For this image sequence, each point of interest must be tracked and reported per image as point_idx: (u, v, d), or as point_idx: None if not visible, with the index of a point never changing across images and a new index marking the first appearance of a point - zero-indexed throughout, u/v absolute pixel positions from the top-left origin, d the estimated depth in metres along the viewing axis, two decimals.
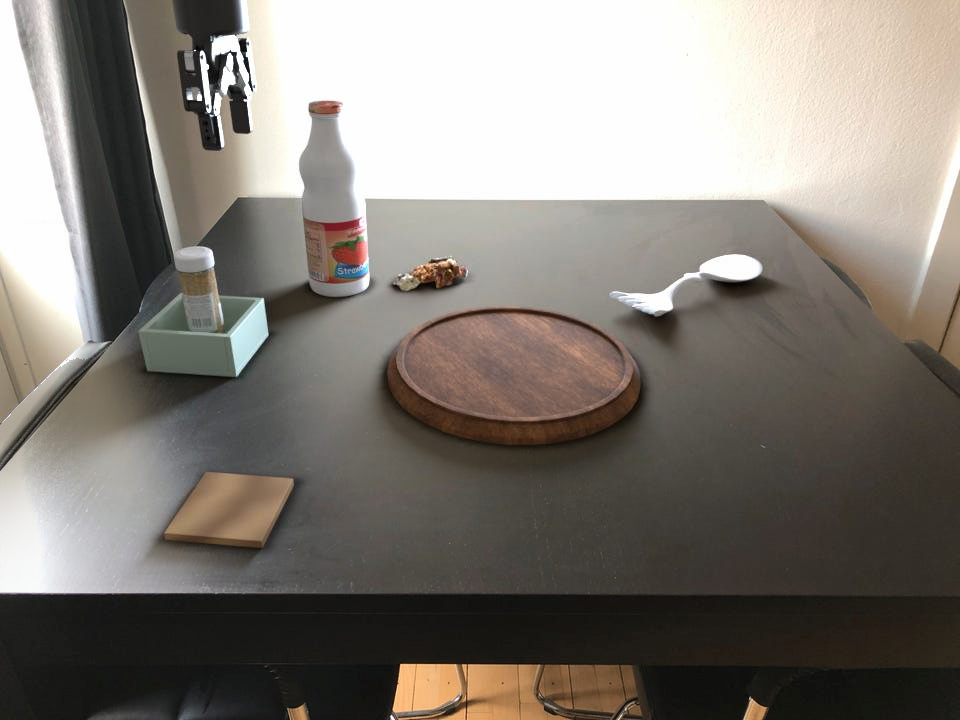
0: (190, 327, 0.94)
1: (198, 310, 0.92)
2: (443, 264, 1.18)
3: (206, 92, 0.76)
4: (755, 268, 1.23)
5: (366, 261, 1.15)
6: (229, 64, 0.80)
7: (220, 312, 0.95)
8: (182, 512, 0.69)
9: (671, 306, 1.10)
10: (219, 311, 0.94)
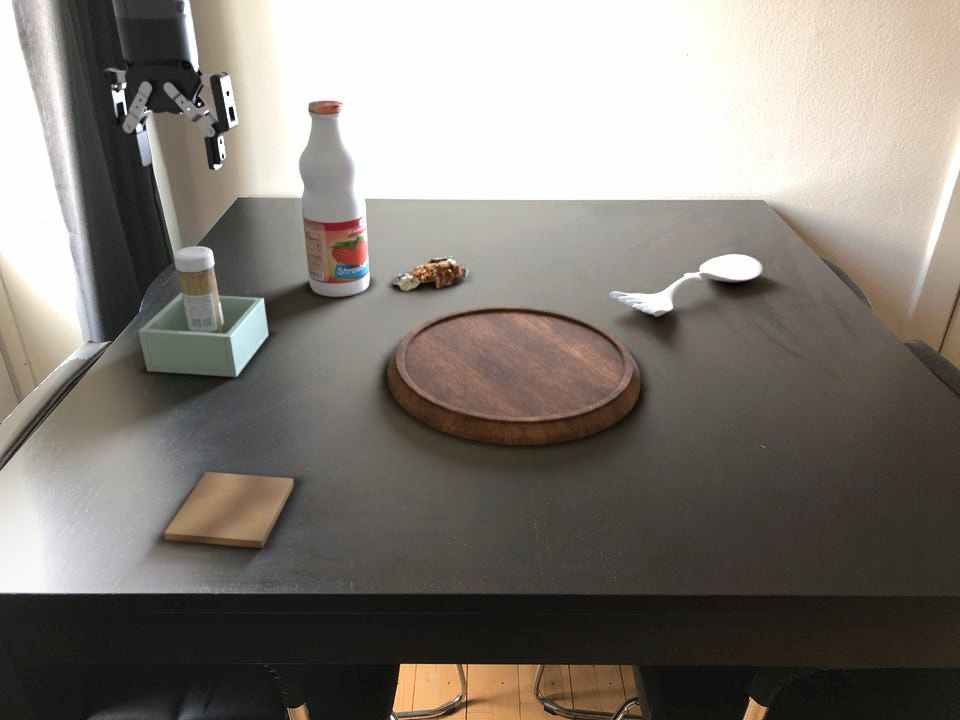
0: (190, 327, 0.94)
1: (198, 310, 0.92)
2: (443, 264, 1.18)
3: (108, 108, 0.82)
4: (755, 268, 1.23)
5: (366, 261, 1.15)
6: (143, 91, 0.80)
7: (220, 312, 0.95)
8: (182, 512, 0.69)
9: (671, 306, 1.10)
10: (219, 311, 0.94)
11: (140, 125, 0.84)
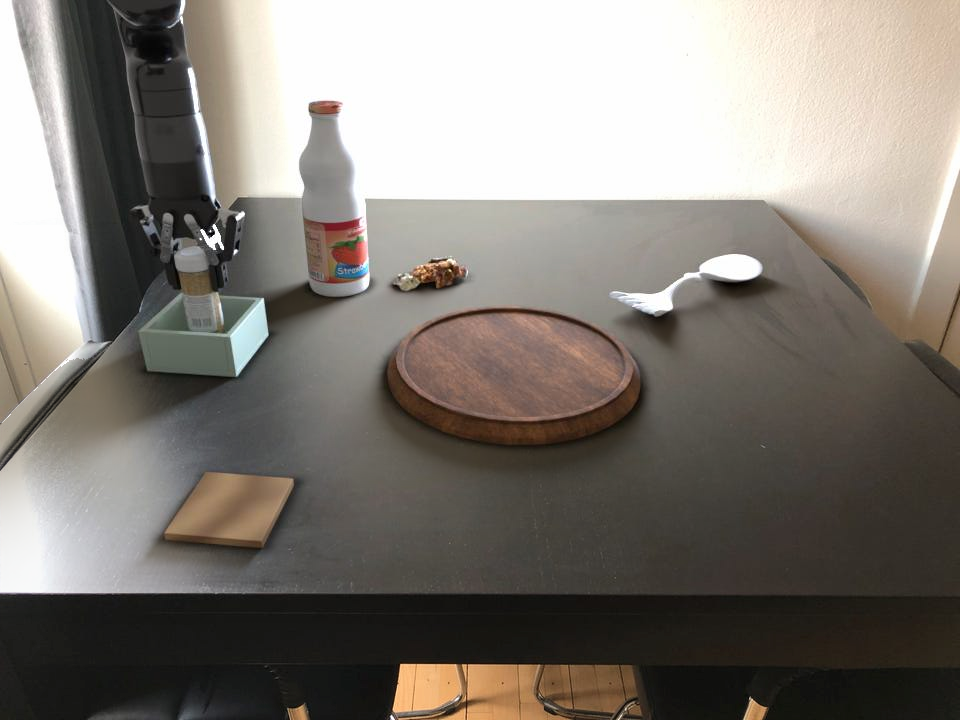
0: (190, 327, 0.94)
1: (198, 310, 0.92)
2: (443, 264, 1.18)
3: (144, 242, 0.89)
4: (755, 268, 1.23)
5: (366, 261, 1.15)
6: (165, 220, 0.87)
7: (220, 312, 0.95)
8: (182, 512, 0.69)
9: (671, 306, 1.10)
10: (219, 311, 0.94)
11: None
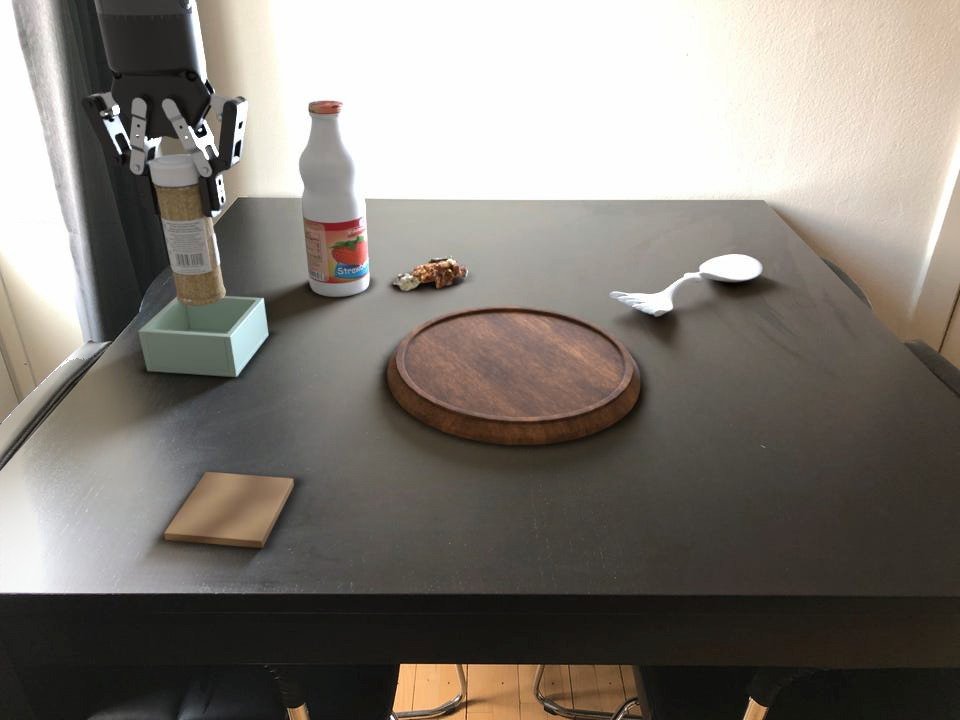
0: (174, 267, 0.68)
1: (184, 242, 0.67)
2: (443, 264, 1.18)
3: (106, 144, 0.64)
4: (755, 268, 1.23)
5: (366, 261, 1.15)
6: (136, 110, 0.61)
7: (215, 247, 0.69)
8: (182, 512, 0.69)
9: (671, 306, 1.10)
10: (214, 245, 0.69)
11: None
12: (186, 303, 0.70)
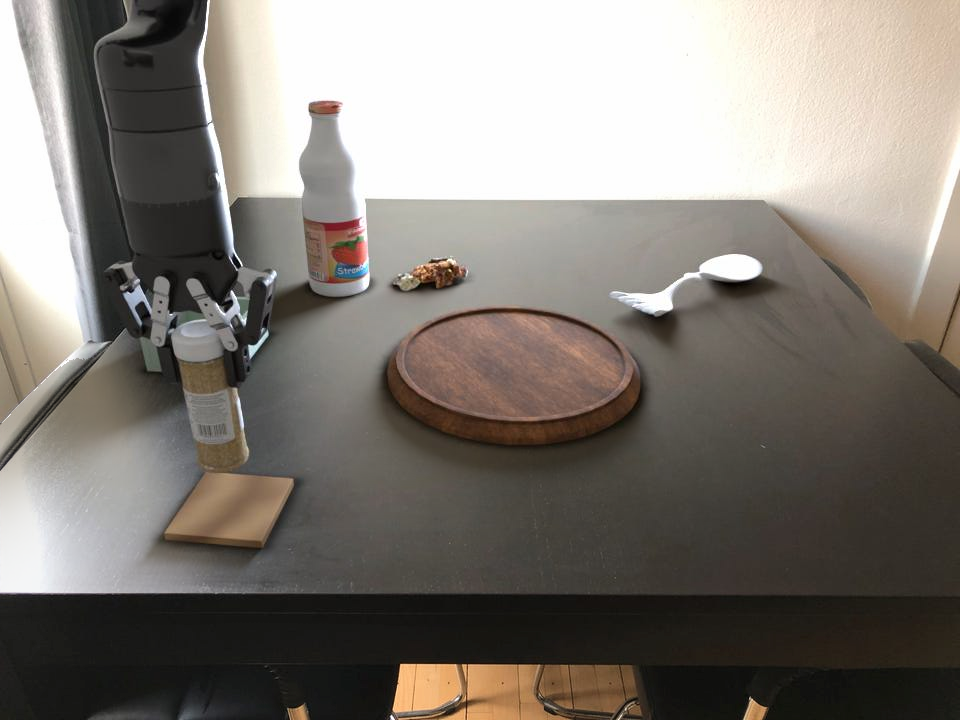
0: (195, 436, 0.64)
1: (207, 413, 0.63)
2: (443, 264, 1.18)
3: (126, 317, 0.60)
4: (755, 268, 1.23)
5: (366, 261, 1.15)
6: (158, 288, 0.57)
7: (239, 413, 0.65)
8: (182, 512, 0.69)
9: (671, 306, 1.10)
10: (238, 412, 0.65)
11: None
12: (207, 470, 0.66)
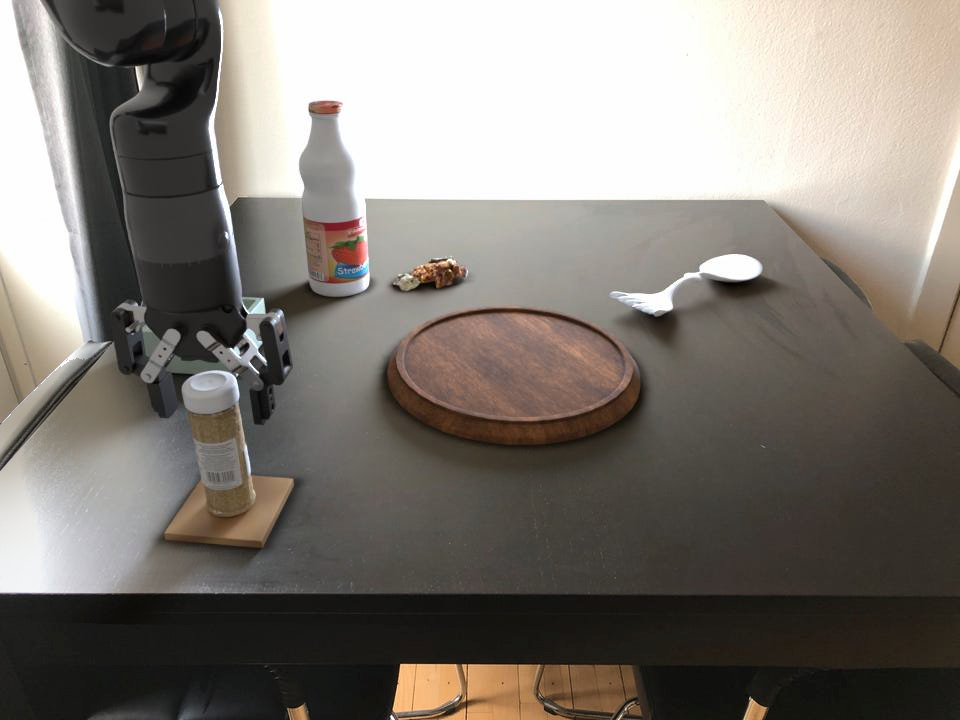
0: (204, 482, 0.67)
1: (215, 461, 0.65)
2: (443, 264, 1.18)
3: (121, 354, 0.61)
4: (755, 268, 1.23)
5: (366, 261, 1.15)
6: (169, 339, 0.59)
7: (246, 459, 0.67)
8: (182, 512, 0.69)
9: (671, 306, 1.10)
10: (245, 459, 0.67)
11: (163, 368, 0.64)
12: (216, 514, 0.68)
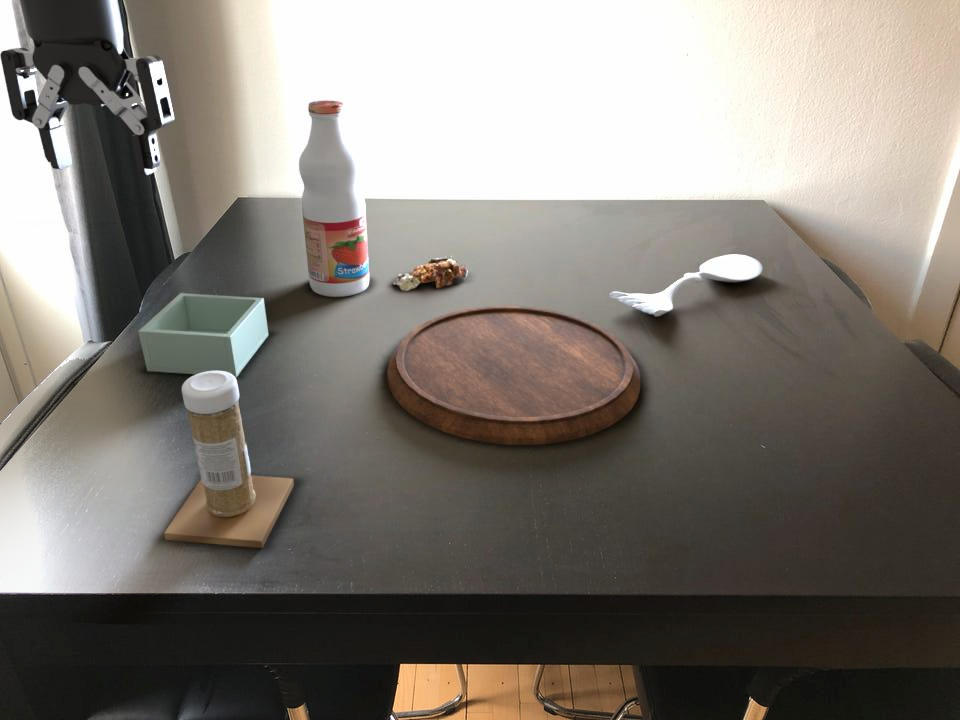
0: (204, 482, 0.67)
1: (215, 461, 0.65)
2: (443, 264, 1.18)
3: (13, 97, 0.67)
4: (755, 268, 1.23)
5: (366, 261, 1.15)
6: (54, 76, 0.65)
7: (246, 459, 0.67)
8: (182, 512, 0.69)
9: (671, 306, 1.10)
10: (245, 459, 0.67)
11: (55, 119, 0.69)
12: (216, 514, 0.68)
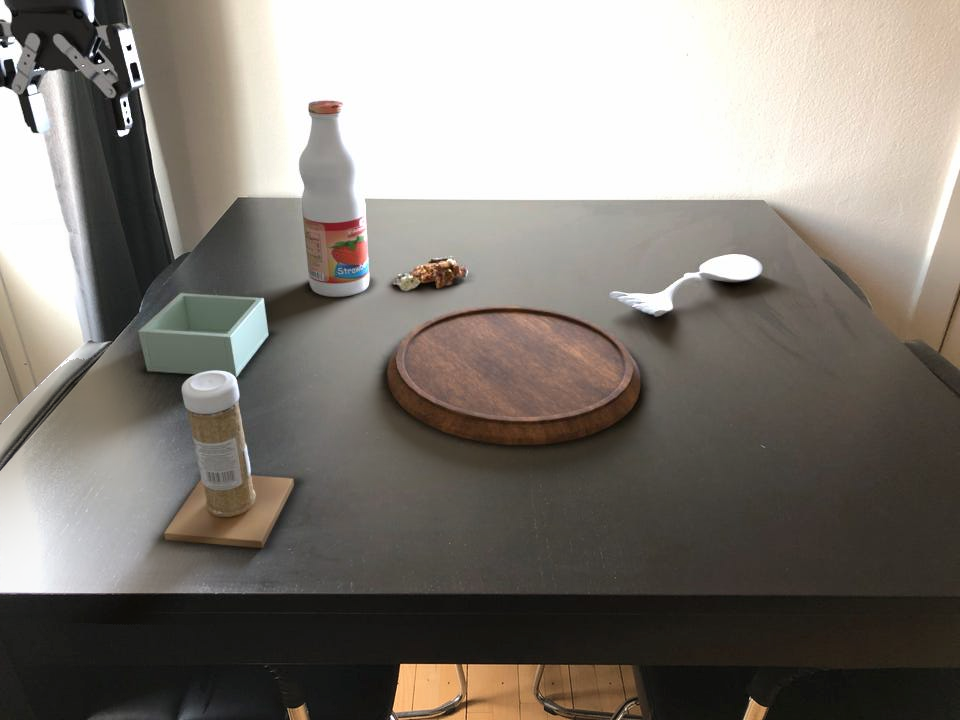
0: (204, 482, 0.67)
1: (215, 461, 0.65)
2: (443, 264, 1.18)
3: None
4: (755, 268, 1.23)
5: (366, 261, 1.15)
6: (31, 44, 0.70)
7: (246, 459, 0.67)
8: (182, 512, 0.69)
9: (671, 306, 1.10)
10: (245, 458, 0.67)
11: (33, 86, 0.74)
12: (216, 514, 0.68)
